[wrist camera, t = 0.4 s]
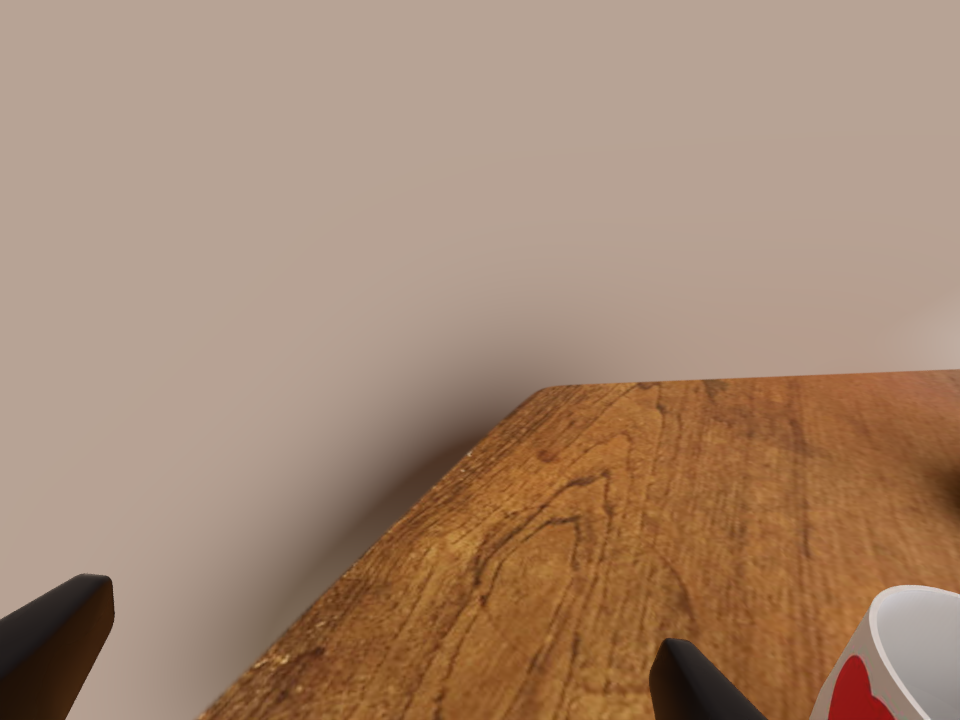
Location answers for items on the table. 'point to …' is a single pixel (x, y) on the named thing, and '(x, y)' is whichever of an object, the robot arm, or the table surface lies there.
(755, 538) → the table surface
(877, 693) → the cup
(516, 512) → the table surface
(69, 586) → the robot arm
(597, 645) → the table surface
